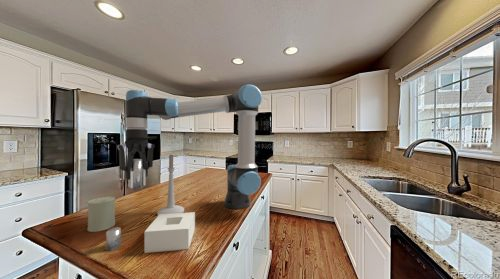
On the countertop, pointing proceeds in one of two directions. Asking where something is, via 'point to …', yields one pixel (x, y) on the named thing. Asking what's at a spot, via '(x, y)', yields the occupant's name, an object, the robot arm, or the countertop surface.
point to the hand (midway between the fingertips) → (136, 185)
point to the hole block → (170, 232)
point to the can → (101, 214)
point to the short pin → (113, 238)
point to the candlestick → (171, 194)
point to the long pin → (137, 174)
